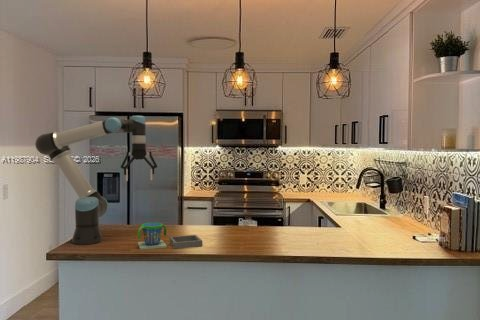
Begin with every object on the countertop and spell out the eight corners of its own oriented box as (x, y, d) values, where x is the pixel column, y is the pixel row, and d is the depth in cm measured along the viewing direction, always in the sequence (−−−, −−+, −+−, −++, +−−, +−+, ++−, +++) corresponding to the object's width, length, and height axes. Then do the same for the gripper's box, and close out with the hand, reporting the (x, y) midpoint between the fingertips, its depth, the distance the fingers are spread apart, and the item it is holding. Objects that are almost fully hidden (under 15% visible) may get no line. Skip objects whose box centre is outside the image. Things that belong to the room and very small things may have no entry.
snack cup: (162, 240, 220) (162, 221, 219) (170, 243, 211) (170, 224, 211) (134, 243, 211) (133, 224, 211) (141, 248, 202) (141, 227, 202)
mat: (140, 249, 203) (140, 247, 203) (137, 243, 215) (137, 242, 215) (166, 247, 207) (166, 245, 207) (162, 241, 220) (162, 240, 220)
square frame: (174, 248, 205) (174, 242, 205) (169, 242, 218) (169, 236, 218) (202, 246, 210) (202, 240, 210) (195, 240, 223) (195, 234, 223)
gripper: (160, 143, 240) (160, 179, 241) (115, 143, 232) (116, 180, 233) (162, 143, 233) (162, 180, 234) (116, 143, 225) (116, 181, 226)
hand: (139, 180), depth 234 cm, fingers open, 13 cm apart
